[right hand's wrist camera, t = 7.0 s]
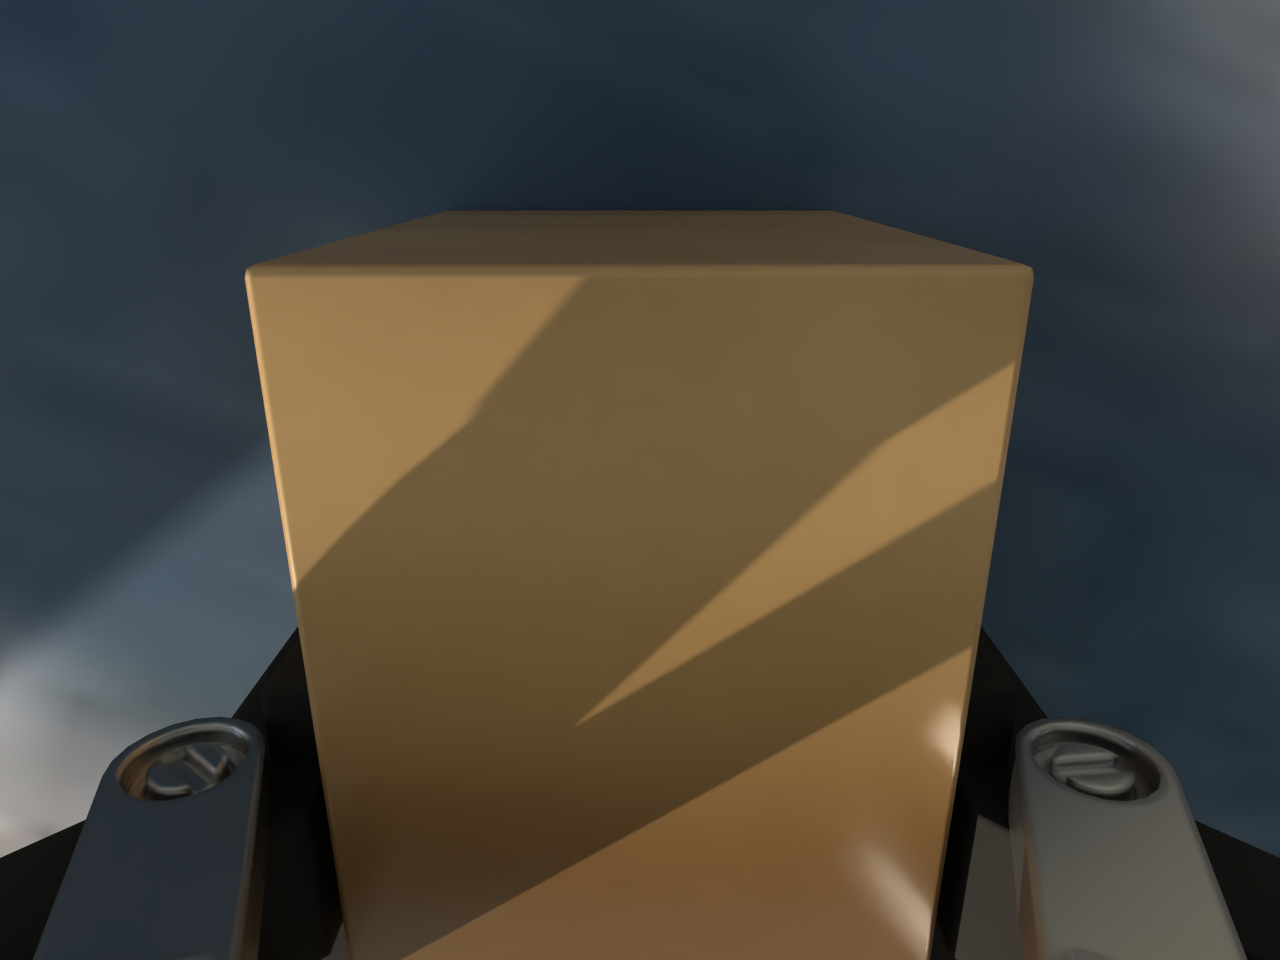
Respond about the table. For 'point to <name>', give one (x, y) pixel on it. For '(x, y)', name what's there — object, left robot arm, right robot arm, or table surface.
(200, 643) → the table surface
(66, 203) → the table surface
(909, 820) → the bar
